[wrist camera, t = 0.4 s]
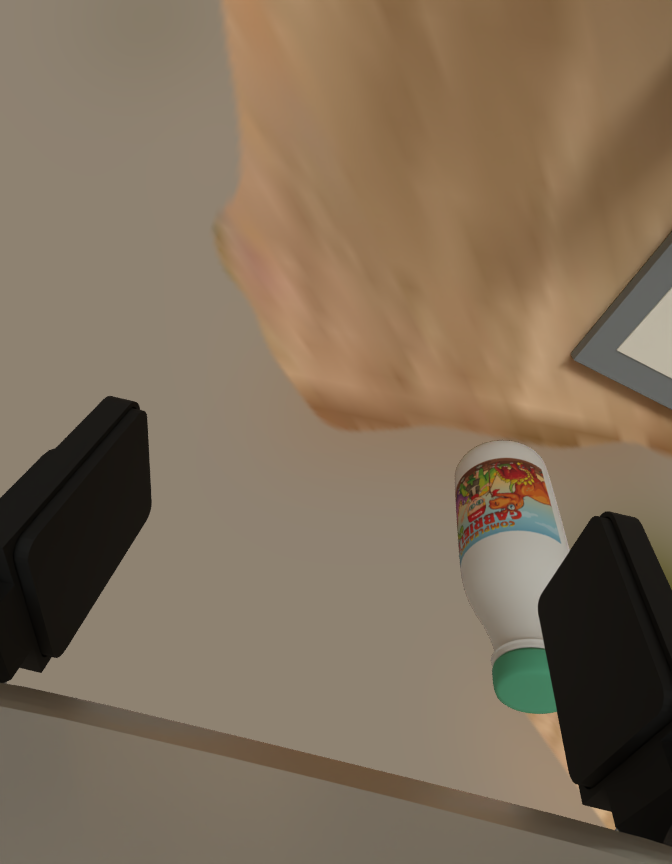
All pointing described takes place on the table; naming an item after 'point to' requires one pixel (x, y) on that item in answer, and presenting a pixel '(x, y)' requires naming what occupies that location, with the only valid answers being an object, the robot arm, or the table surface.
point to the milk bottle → (510, 562)
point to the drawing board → (637, 332)
